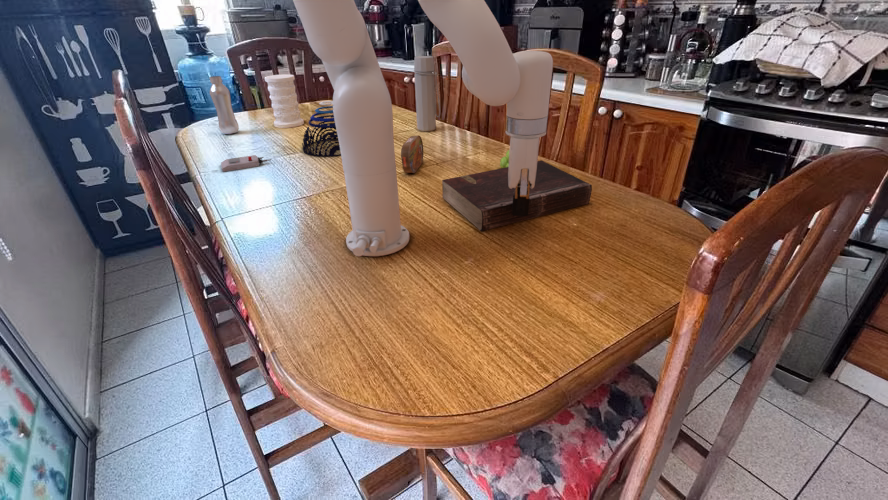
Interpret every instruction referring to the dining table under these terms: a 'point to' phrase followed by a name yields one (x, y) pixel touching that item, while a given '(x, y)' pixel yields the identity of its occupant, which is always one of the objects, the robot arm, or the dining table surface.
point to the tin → (412, 154)
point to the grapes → (505, 161)
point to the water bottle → (425, 93)
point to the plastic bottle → (223, 106)
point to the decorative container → (284, 100)
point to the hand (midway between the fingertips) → (520, 214)
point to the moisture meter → (241, 163)
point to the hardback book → (492, 198)
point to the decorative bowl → (322, 127)
